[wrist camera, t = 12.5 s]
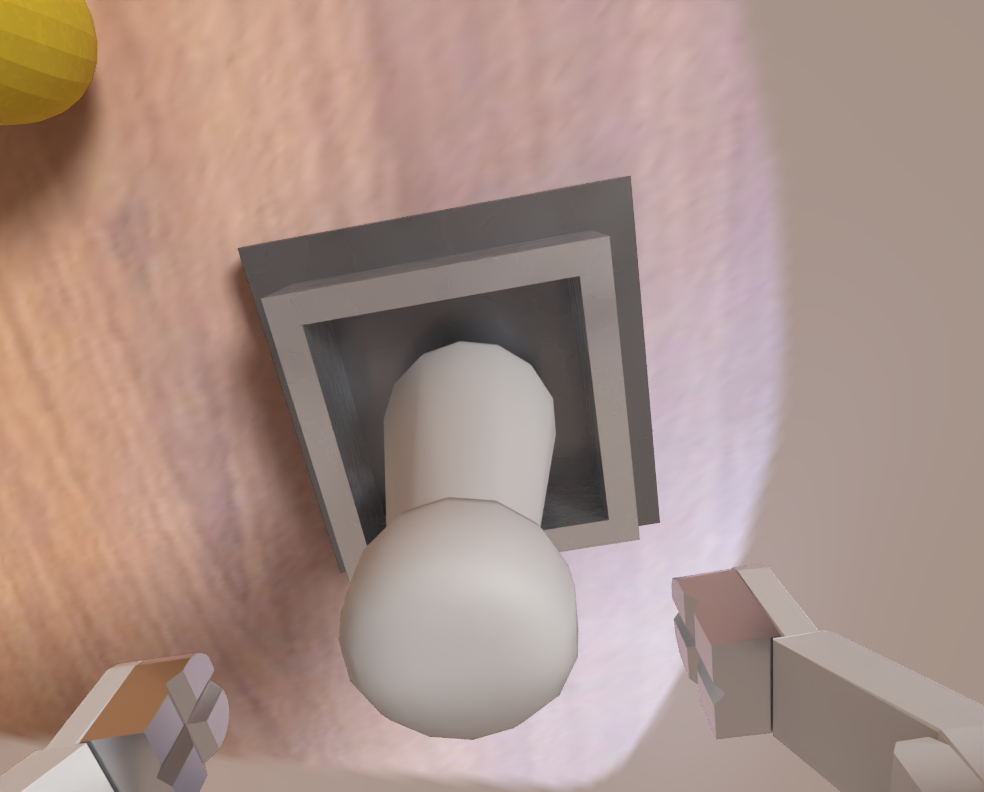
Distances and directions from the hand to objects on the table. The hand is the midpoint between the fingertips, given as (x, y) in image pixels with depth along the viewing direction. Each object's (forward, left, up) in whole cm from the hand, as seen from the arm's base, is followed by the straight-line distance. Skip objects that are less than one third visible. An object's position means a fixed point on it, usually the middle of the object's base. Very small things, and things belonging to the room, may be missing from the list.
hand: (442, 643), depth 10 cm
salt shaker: (0, 0, -13) cm, 13 cm away
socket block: (0, 0, -14) cm, 14 cm away
